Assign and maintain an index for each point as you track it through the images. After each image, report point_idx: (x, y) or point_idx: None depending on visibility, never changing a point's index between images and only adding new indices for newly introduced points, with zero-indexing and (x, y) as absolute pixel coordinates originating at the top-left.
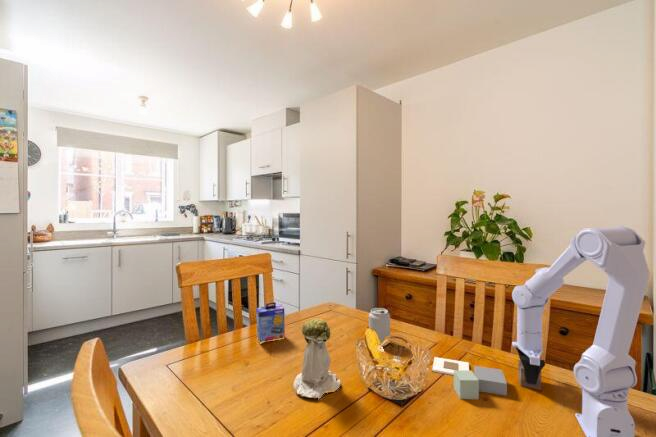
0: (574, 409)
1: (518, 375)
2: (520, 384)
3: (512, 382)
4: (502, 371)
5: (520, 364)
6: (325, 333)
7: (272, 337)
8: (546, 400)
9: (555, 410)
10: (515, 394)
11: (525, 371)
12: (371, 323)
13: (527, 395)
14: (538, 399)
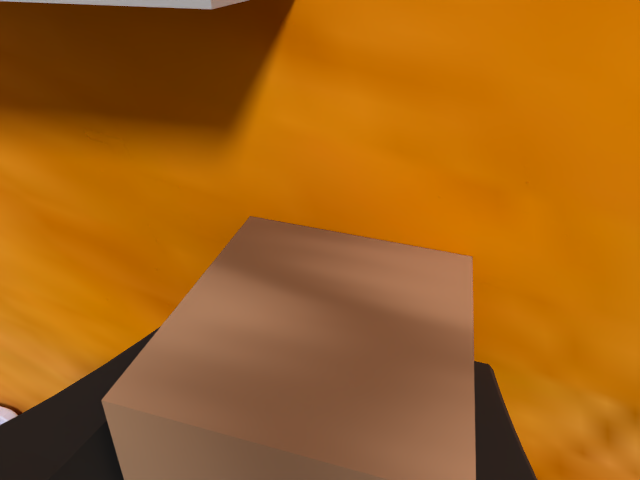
0: None
1: (429, 275)
2: (276, 223)
3: (308, 142)
4: (128, 1)
5: (254, 453)
6: None
7: None
8: (100, 334)
9: (3, 333)
10: (41, 98)
11: (37, 410)
12: None
13: (93, 217)
14: (80, 283)
